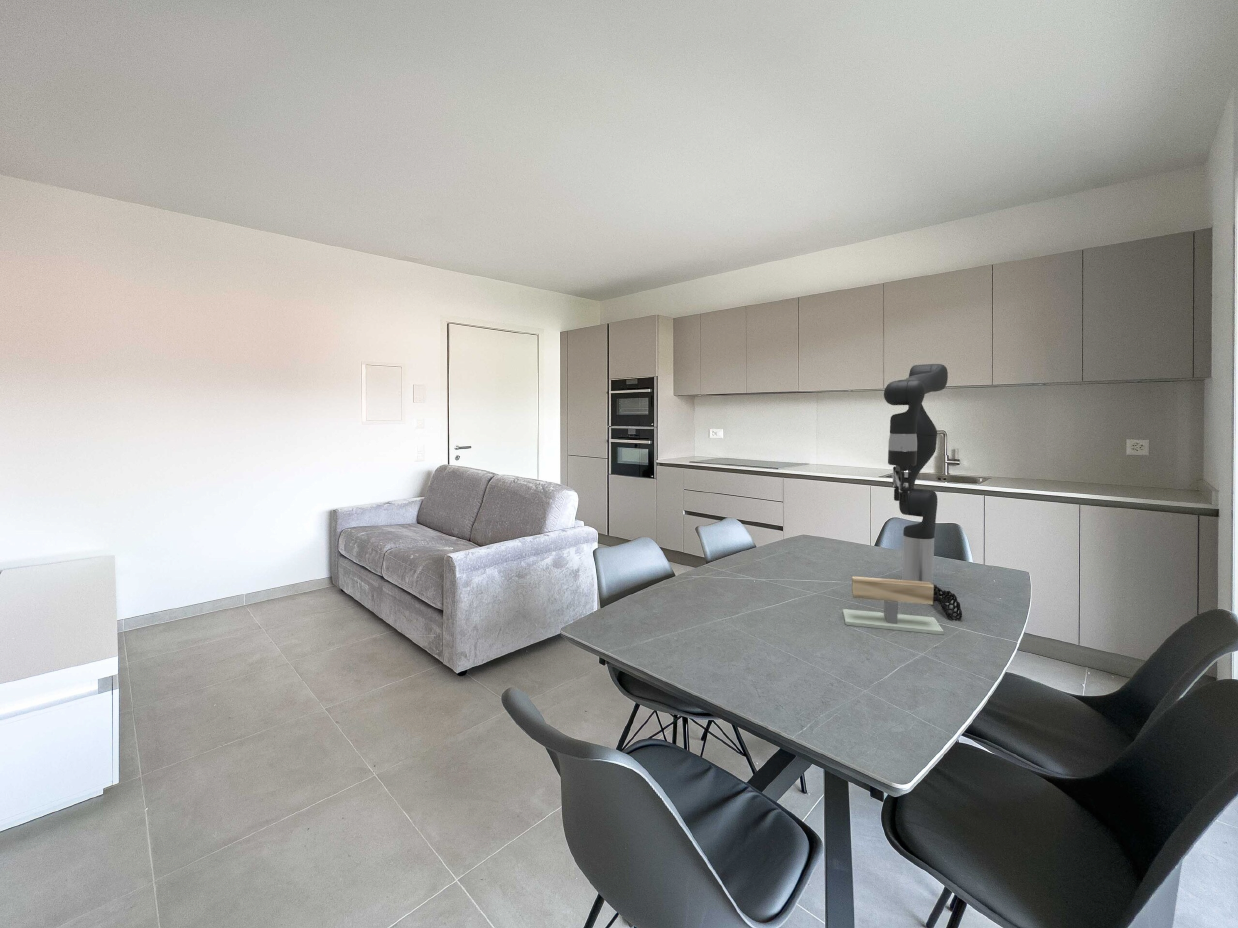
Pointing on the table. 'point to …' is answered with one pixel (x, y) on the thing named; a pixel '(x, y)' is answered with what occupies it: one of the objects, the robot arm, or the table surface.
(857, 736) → the table surface
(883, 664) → the table surface
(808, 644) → the table surface
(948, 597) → the decorative element
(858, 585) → the plank
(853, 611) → the fulcrum
